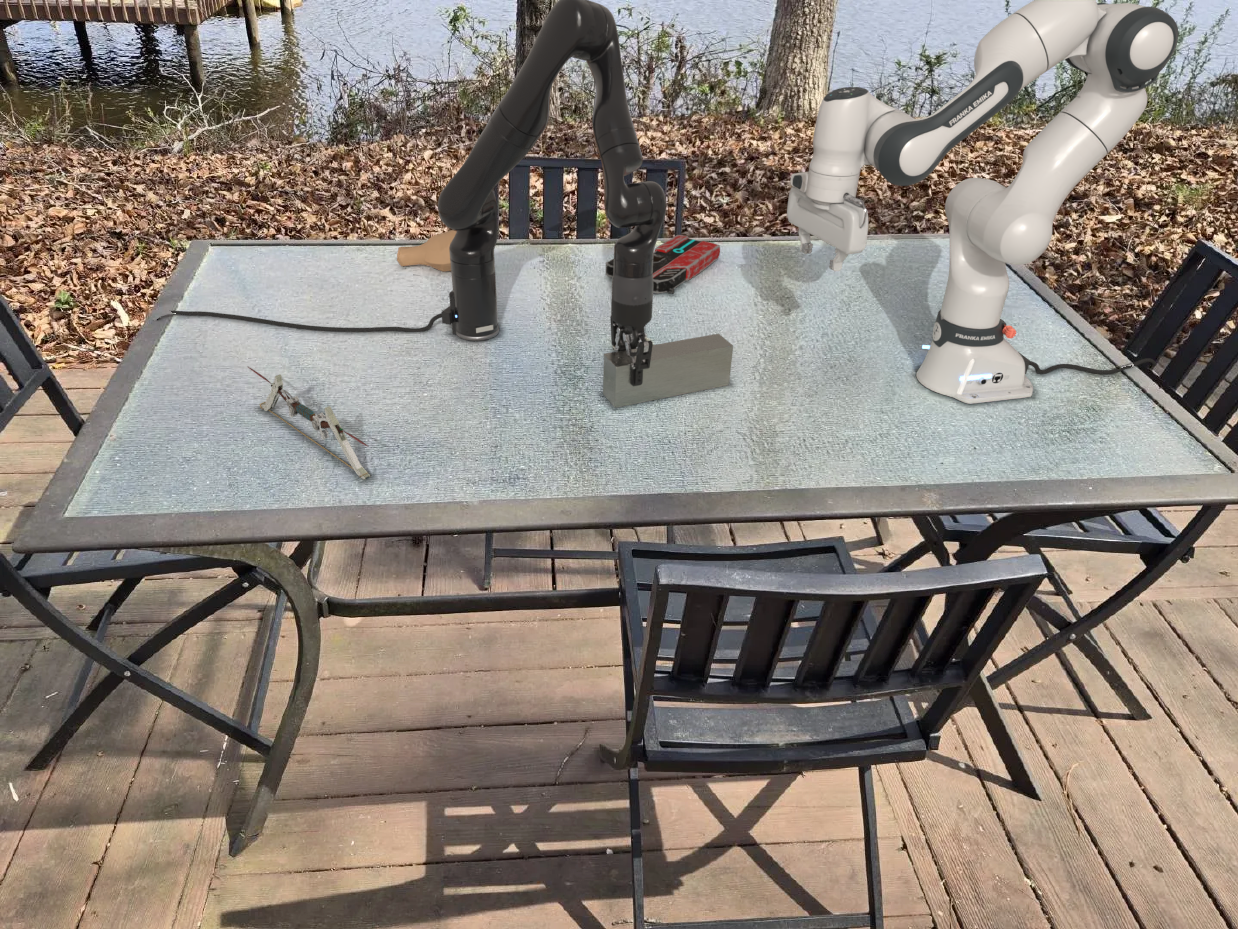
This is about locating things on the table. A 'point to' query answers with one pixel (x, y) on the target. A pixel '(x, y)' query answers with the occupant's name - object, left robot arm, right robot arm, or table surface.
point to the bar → (669, 370)
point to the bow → (314, 422)
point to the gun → (677, 262)
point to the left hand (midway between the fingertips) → (629, 377)
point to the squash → (429, 252)
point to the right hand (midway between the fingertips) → (820, 261)
